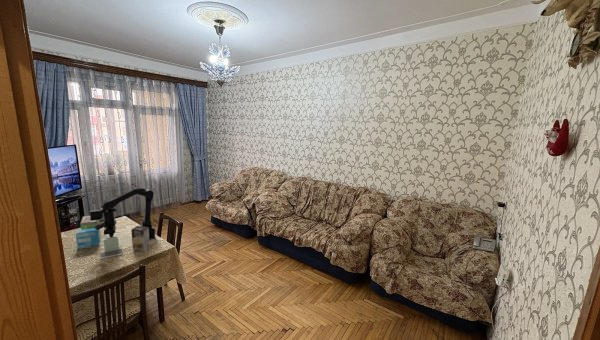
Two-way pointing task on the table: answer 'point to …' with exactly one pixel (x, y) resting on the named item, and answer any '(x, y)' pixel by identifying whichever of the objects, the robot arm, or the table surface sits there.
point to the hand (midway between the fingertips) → (111, 237)
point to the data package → (87, 238)
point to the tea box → (88, 223)
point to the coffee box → (140, 238)
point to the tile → (111, 243)
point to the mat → (111, 253)
